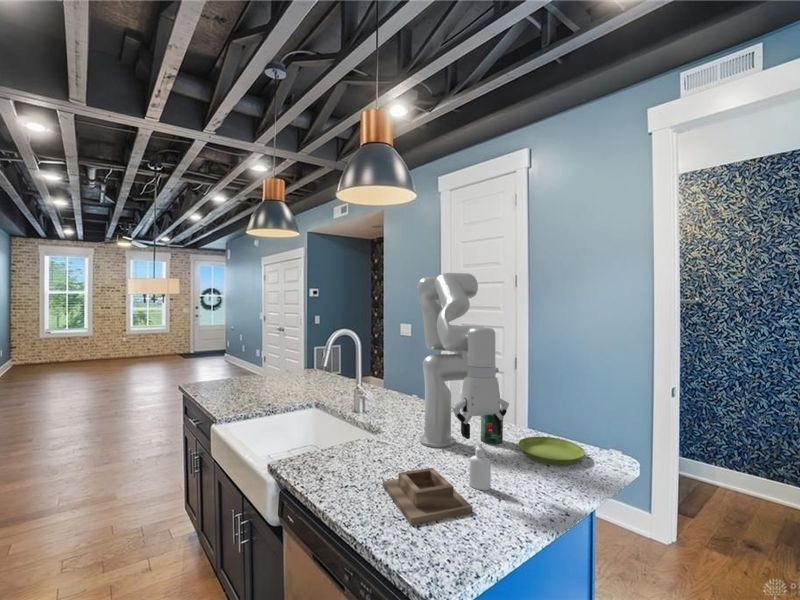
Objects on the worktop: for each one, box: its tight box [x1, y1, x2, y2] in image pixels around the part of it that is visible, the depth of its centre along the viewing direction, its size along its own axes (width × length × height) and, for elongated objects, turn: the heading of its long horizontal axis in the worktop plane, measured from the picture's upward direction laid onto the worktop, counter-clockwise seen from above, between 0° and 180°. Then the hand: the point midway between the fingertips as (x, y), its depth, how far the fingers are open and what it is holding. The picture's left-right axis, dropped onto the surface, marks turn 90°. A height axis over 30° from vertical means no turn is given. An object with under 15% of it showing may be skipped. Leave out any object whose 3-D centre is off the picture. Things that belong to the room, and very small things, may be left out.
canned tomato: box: [480, 415, 504, 446], centre depth 147 cm, size 8×8×11 cm
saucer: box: [517, 436, 586, 467], centre depth 134 cm, size 21×21×3 cm
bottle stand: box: [382, 467, 473, 526], centre depth 103 cm, size 20×16×5 cm
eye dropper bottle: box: [468, 442, 492, 492], centre depth 110 cm, size 4×6×12 cm
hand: (481, 435), depth 110 cm, fingers open, 9 cm apart
